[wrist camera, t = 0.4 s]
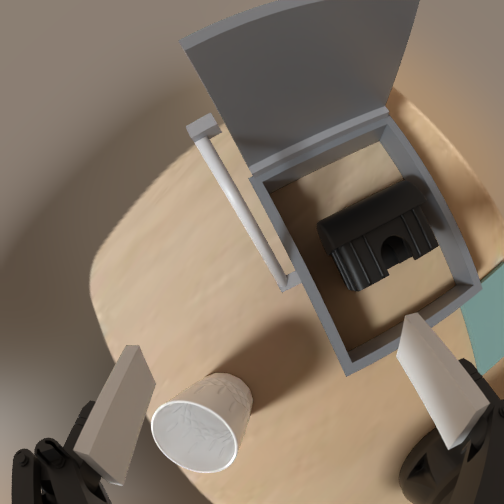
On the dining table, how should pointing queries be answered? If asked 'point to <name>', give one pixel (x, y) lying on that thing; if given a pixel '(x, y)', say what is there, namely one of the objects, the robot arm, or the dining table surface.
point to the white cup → (204, 423)
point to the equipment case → (317, 125)
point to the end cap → (377, 234)
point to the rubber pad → (487, 320)
